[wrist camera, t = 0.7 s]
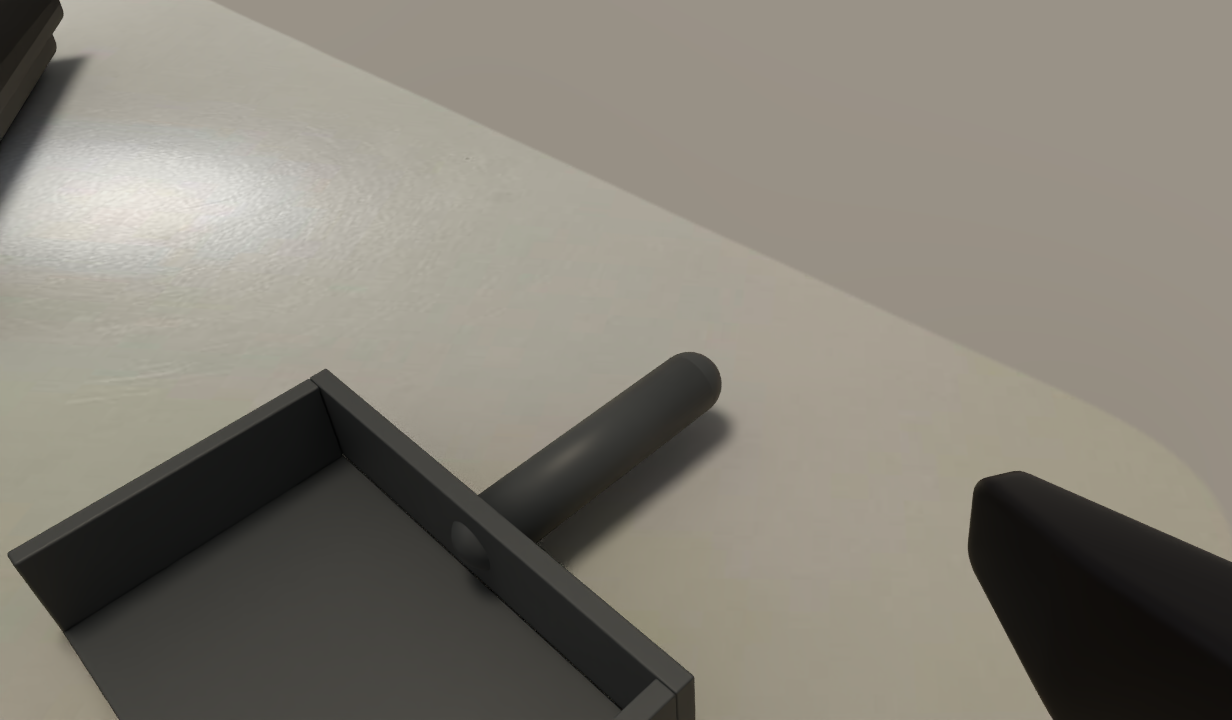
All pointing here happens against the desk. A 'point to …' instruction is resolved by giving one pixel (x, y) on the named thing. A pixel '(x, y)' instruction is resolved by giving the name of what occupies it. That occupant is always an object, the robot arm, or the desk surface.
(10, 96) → the computer keyboard
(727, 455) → the desk surface
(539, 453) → the dustpan
